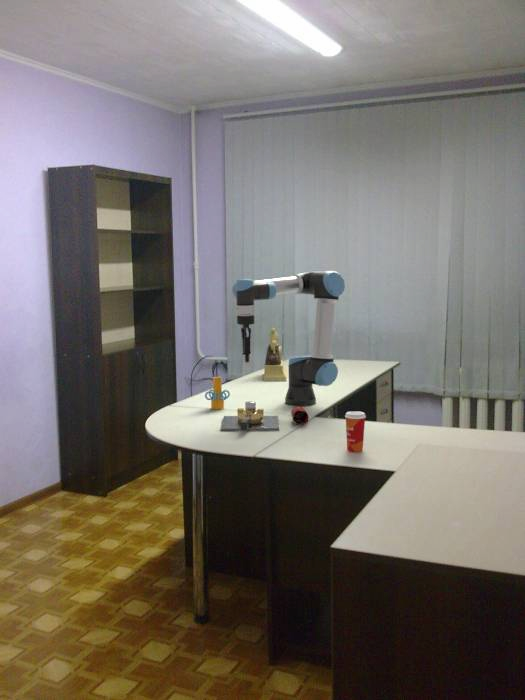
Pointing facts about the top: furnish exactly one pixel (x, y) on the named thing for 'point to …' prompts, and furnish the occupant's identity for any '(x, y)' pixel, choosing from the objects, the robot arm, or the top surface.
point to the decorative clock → (274, 361)
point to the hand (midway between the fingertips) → (247, 368)
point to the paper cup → (355, 430)
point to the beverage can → (299, 415)
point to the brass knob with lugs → (249, 418)
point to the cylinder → (217, 394)
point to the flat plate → (268, 424)
